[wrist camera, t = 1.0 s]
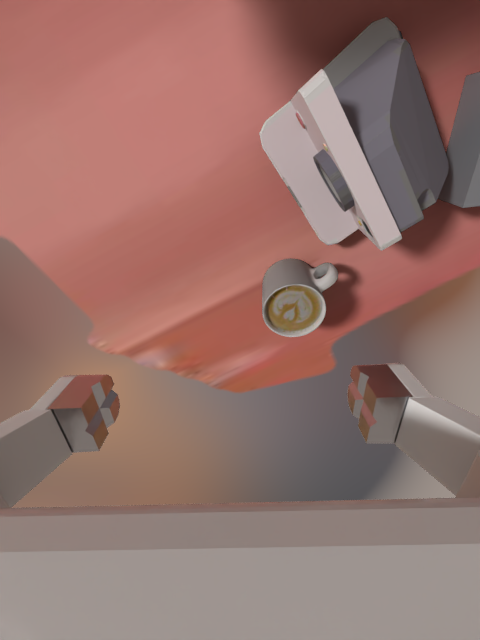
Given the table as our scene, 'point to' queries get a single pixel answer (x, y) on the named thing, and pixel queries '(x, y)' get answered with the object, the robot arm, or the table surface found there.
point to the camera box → (465, 149)
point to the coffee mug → (295, 296)
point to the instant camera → (361, 142)
